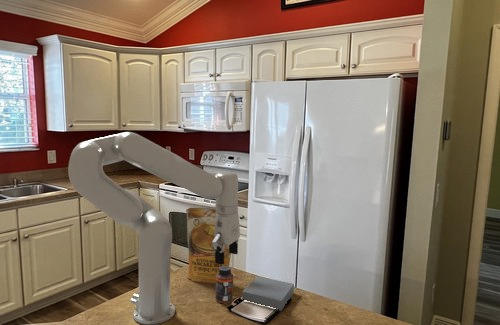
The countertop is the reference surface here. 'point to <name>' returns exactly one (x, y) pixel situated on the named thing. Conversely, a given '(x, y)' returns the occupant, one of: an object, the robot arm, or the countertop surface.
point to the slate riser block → (269, 292)
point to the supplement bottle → (224, 285)
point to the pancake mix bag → (203, 245)
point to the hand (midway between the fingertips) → (226, 258)
